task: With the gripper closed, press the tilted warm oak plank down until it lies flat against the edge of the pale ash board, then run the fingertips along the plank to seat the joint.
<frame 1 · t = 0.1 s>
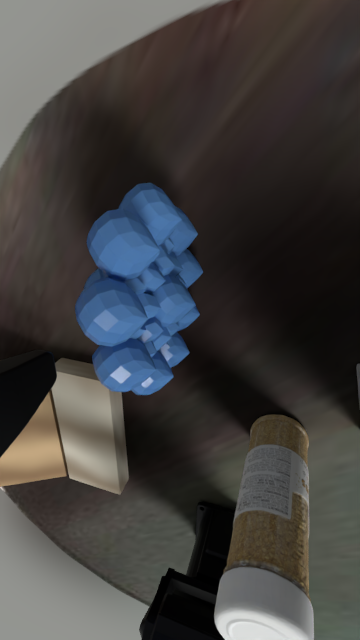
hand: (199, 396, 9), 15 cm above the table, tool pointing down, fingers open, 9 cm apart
oak plank: (9, 425, 32), point 3 cm above the table, hinge at 30.0°
grapes: (173, 264, 23), on the table
sprinkles bottle: (278, 431, 27), on the table
ash board: (97, 422, 33), on the table
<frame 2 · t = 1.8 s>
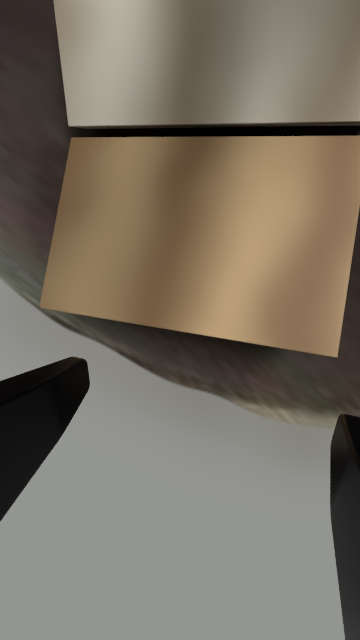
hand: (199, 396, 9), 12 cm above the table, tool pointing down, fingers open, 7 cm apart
oak plank: (190, 238, 16), point 3 cm above the table, hinge at 30.0°
ash board: (215, 52, 15), on the table
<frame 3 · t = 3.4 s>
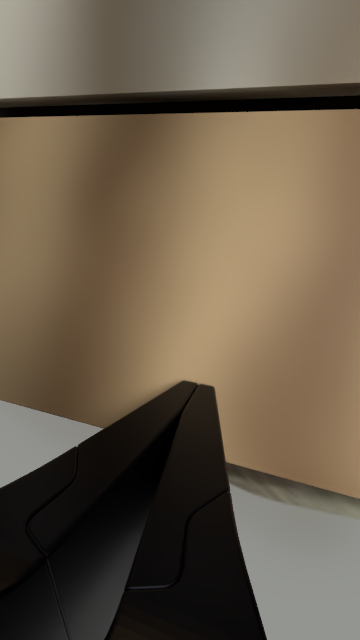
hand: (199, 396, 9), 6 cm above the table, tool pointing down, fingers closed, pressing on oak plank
oak plank: (129, 274, 10), point 3 cm above the table, hinge at 29.2°, touching gripper
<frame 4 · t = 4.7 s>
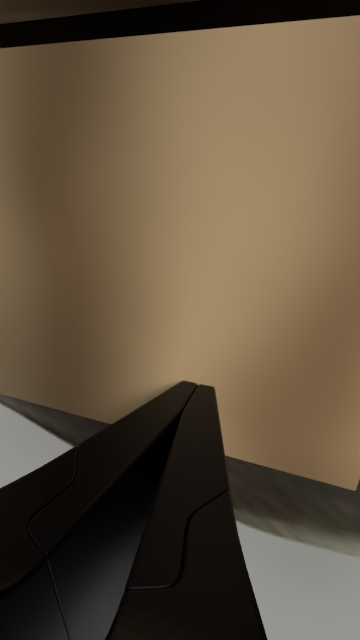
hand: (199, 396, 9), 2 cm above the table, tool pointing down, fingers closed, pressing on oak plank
oak plank: (106, 265, 9), point 1 cm above the table, hinge at 5.3°, touching gripper
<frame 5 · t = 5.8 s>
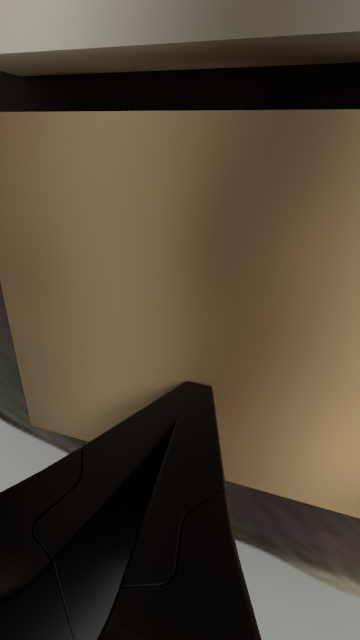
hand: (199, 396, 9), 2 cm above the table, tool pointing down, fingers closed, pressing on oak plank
oak plank: (263, 327, 8), point 1 cm above the table, hinge at 1.7°, touching gripper
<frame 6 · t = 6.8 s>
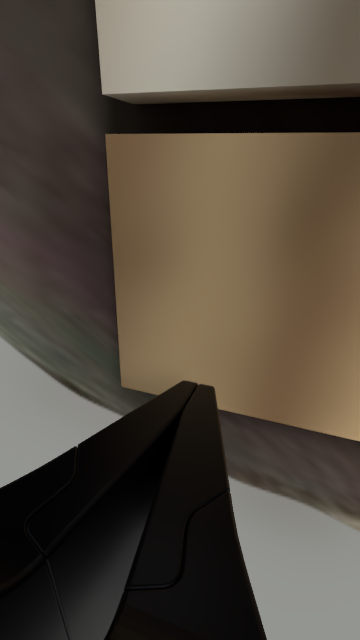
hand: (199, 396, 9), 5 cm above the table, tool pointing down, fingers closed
oak plank: (327, 297, 10), point 1 cm above the table, hinge at 1.6°
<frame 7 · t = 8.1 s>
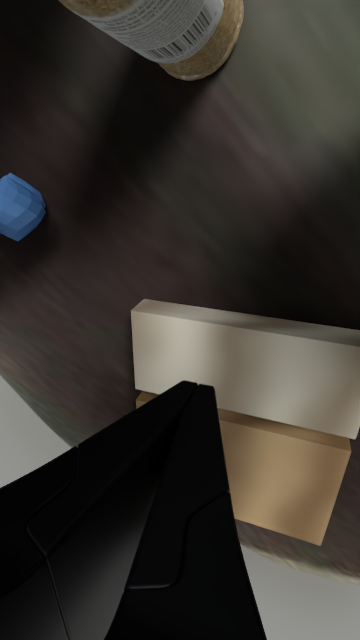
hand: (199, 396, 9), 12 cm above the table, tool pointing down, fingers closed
oak plank: (230, 461, 24), point 1 cm above the table, hinge at 1.6°
grapes: (9, 211, 23), on the table
sprinkles bottle: (195, 25, 15), on the table
ash board: (244, 356, 21), on the table
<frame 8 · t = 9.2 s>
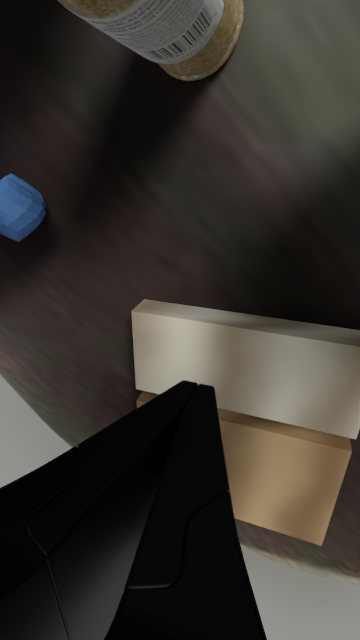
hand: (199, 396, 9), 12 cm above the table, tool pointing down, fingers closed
oak plank: (231, 461, 24), point 1 cm above the table, hinge at 1.6°
grapes: (10, 212, 23), on the table
sprinkles bottle: (195, 25, 15), on the table
ash board: (245, 356, 21), on the table
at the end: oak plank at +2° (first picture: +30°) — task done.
